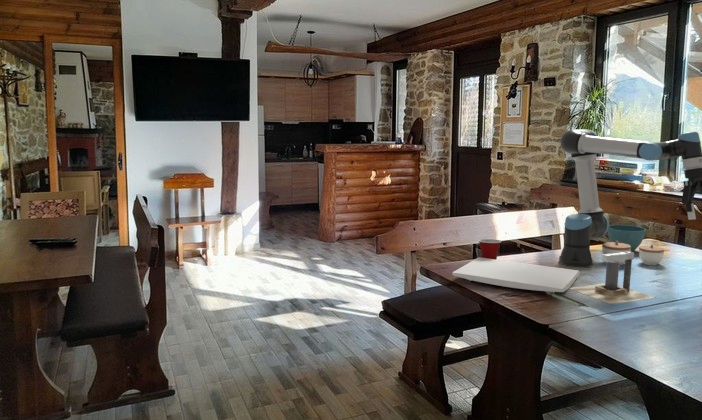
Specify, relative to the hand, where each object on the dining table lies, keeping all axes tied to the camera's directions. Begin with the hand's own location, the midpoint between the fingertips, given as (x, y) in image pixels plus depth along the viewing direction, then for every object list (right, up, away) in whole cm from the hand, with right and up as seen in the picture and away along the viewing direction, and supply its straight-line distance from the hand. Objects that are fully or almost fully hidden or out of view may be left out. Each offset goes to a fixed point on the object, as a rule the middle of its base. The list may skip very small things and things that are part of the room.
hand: (701, 217), depth 237 cm
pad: (-64, -31, -23) cm, 75 cm away
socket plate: (-48, -31, -19) cm, 60 cm away
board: (-79, -28, +2) cm, 84 cm away
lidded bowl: (-21, -23, +33) cm, 45 cm away
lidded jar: (-5, -23, +32) cm, 39 cm away
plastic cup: (-83, -23, +31) cm, 92 cm away
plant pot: (-3, -19, +60) cm, 63 cm away
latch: (-45, -16, -20) cm, 52 cm away
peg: (-48, -29, -19) cm, 59 cm away
